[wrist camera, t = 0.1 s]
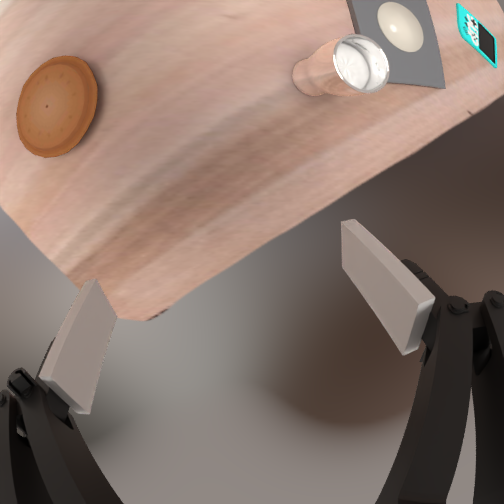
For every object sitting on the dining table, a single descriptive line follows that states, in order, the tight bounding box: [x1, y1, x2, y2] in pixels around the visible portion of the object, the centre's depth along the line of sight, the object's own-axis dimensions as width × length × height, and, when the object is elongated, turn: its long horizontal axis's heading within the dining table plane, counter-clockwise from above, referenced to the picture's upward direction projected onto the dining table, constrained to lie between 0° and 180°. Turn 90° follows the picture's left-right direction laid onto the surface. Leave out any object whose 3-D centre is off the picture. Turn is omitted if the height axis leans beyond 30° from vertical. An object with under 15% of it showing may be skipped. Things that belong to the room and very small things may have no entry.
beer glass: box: [292, 34, 390, 96], centre depth 26 cm, size 7×7×15 cm
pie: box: [16, 56, 97, 158], centre depth 27 cm, size 16×16×5 cm
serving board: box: [347, 0, 446, 89], centre depth 28 cm, size 22×18×2 cm
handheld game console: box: [456, 3, 497, 68], centre depth 27 cm, size 10×16×1 cm, turn 81°
